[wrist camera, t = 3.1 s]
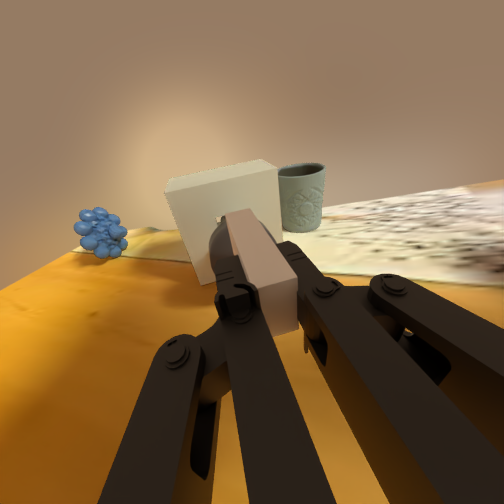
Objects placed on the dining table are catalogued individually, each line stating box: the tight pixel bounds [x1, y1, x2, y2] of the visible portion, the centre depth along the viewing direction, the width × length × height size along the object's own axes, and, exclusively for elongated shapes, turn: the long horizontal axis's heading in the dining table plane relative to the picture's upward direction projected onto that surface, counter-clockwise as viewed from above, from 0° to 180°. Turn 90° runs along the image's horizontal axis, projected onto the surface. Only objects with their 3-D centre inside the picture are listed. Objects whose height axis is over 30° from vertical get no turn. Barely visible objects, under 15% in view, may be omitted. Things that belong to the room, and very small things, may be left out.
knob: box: [209, 215, 277, 274], centre depth 28 cm, size 8×11×8 cm
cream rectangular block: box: [164, 159, 283, 285], centre depth 35 cm, size 15×8×16 cm, turn 104°
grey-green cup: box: [277, 163, 326, 233], centre depth 44 cm, size 10×10×12 cm
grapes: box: [74, 207, 128, 259], centre depth 44 cm, size 12×7×12 cm, turn 177°
